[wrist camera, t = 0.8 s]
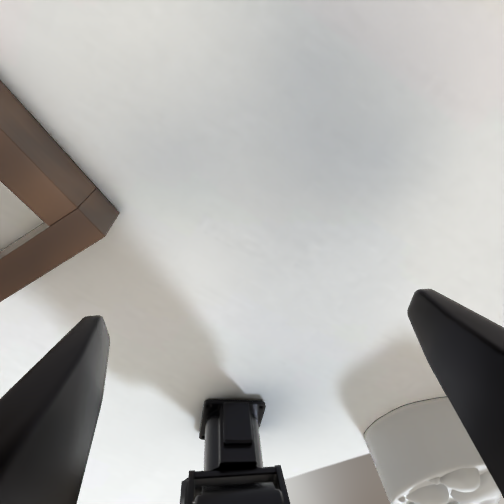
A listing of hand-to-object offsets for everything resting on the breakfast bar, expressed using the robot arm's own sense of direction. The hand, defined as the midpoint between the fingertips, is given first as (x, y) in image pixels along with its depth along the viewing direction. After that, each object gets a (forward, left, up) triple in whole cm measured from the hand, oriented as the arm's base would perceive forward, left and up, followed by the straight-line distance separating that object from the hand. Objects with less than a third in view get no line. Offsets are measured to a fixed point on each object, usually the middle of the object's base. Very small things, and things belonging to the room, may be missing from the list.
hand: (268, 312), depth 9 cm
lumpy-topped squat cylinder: (-29, -27, -15) cm, 42 cm away
